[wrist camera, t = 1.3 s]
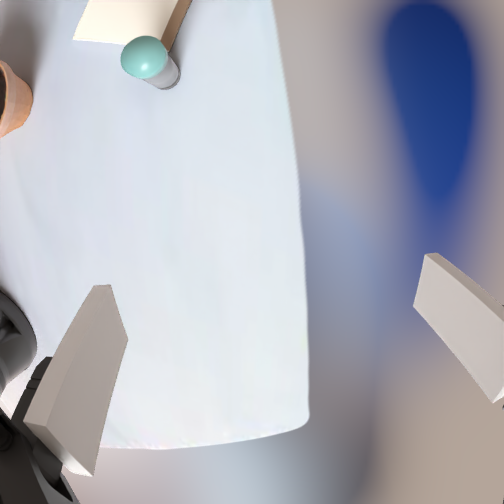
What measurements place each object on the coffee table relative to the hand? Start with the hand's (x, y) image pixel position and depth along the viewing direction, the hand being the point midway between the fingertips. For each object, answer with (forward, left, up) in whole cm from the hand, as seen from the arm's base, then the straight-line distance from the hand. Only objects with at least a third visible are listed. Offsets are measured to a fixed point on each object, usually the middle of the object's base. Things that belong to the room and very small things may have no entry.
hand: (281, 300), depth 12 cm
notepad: (-17, +18, -20) cm, 32 cm away
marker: (-10, +9, -20) cm, 24 cm away
